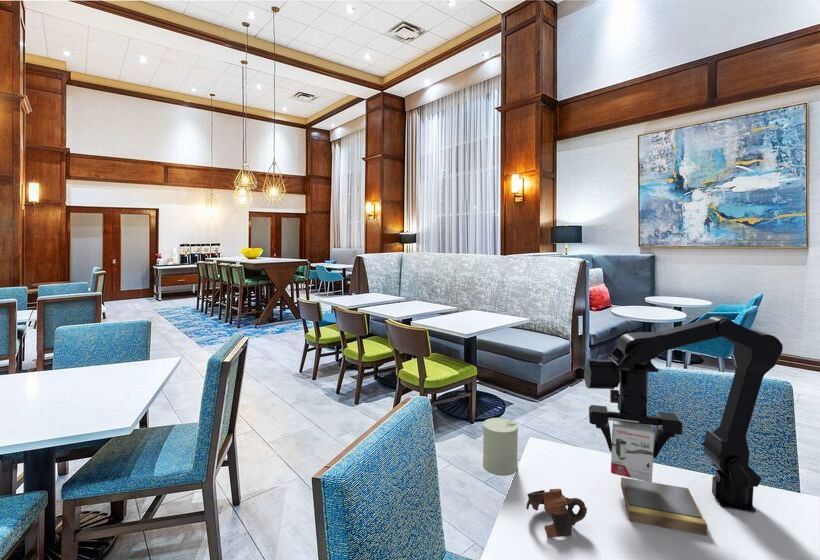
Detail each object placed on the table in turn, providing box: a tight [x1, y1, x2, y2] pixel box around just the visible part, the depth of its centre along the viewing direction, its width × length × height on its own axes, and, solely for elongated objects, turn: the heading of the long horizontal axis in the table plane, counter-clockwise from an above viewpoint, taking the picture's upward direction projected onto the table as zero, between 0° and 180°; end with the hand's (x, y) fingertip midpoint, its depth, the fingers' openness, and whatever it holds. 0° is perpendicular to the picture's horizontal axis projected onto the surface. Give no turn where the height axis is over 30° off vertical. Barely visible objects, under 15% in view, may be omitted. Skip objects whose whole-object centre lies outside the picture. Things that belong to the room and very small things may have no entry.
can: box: [482, 417, 519, 477], centre depth 110 cm, size 9×9×12 cm
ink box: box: [610, 420, 655, 482], centre depth 97 cm, size 9×5×12 cm, turn 62°
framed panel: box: [620, 476, 708, 536], centre depth 93 cm, size 14×14×2 cm
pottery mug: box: [526, 488, 588, 538], centre depth 88 cm, size 12×10×8 cm
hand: (632, 454), depth 97 cm, fingers closed on ink box, 9 cm apart
